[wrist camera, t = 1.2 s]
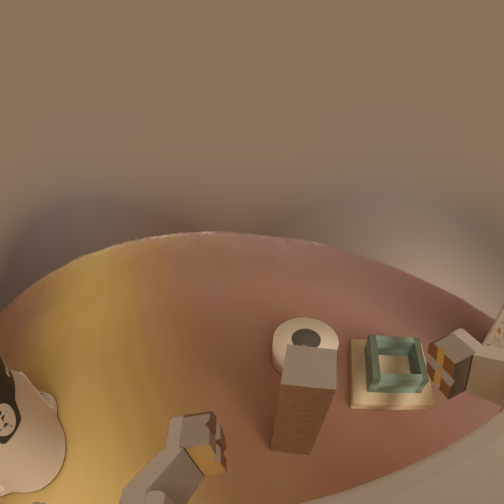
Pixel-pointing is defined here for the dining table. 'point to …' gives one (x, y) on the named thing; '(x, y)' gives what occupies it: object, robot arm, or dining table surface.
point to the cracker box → (496, 332)
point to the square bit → (303, 397)
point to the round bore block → (301, 338)
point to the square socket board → (389, 374)
